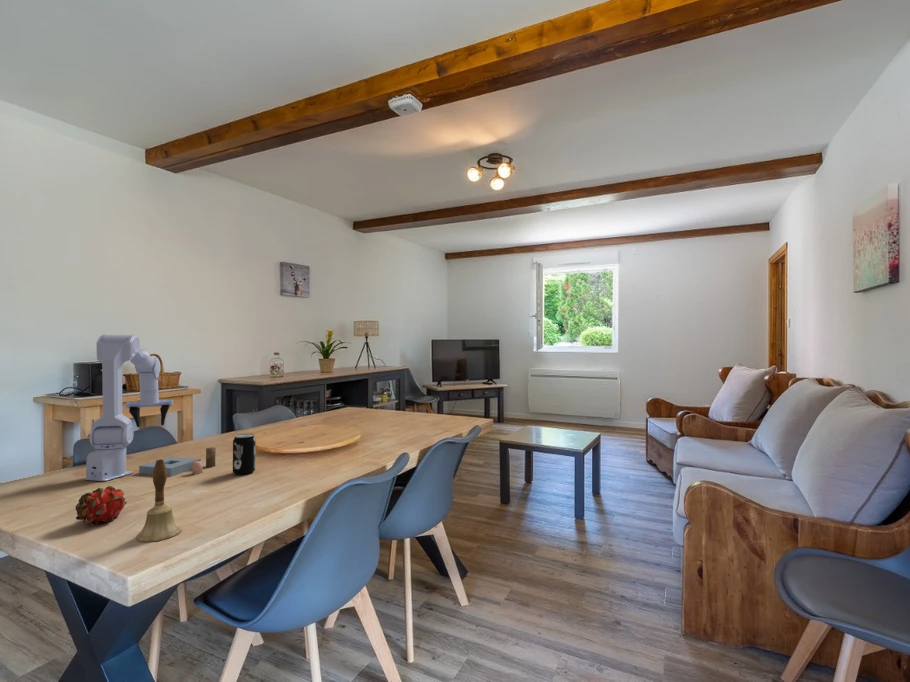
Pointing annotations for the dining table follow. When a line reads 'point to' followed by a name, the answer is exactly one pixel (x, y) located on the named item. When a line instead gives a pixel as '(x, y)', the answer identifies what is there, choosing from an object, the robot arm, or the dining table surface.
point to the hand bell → (159, 511)
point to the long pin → (210, 457)
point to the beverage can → (244, 454)
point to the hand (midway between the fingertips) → (150, 425)
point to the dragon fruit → (100, 505)
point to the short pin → (197, 467)
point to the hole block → (170, 466)
